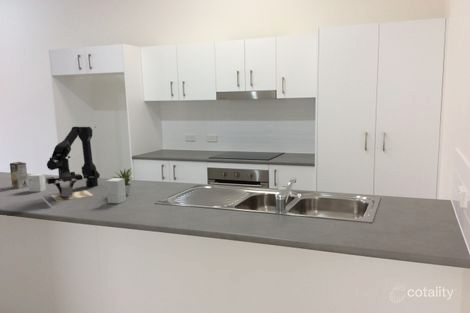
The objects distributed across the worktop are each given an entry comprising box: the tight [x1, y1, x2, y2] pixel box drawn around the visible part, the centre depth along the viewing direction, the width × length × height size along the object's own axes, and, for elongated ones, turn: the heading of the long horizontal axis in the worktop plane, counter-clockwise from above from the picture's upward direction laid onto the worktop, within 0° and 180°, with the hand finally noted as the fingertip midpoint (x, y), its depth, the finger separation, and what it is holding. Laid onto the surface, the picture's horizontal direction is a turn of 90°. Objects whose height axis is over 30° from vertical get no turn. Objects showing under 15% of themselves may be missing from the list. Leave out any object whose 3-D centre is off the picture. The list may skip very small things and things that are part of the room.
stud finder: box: [58, 184, 73, 197], centre depth 224 cm, size 5×9×5 cm, turn 37°
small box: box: [27, 173, 47, 193], centre depth 244 cm, size 8×6×10 cm
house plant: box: [112, 167, 133, 197], centre depth 231 cm, size 14×14×16 cm
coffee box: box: [9, 161, 29, 189], centre depth 255 cm, size 9×6×16 cm
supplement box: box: [105, 177, 127, 204], centre depth 215 cm, size 7×7×13 cm
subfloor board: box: [51, 190, 94, 202], centre depth 227 cm, size 20×16×1 cm
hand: (65, 193), depth 225 cm, fingers closed on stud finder, 5 cm apart
